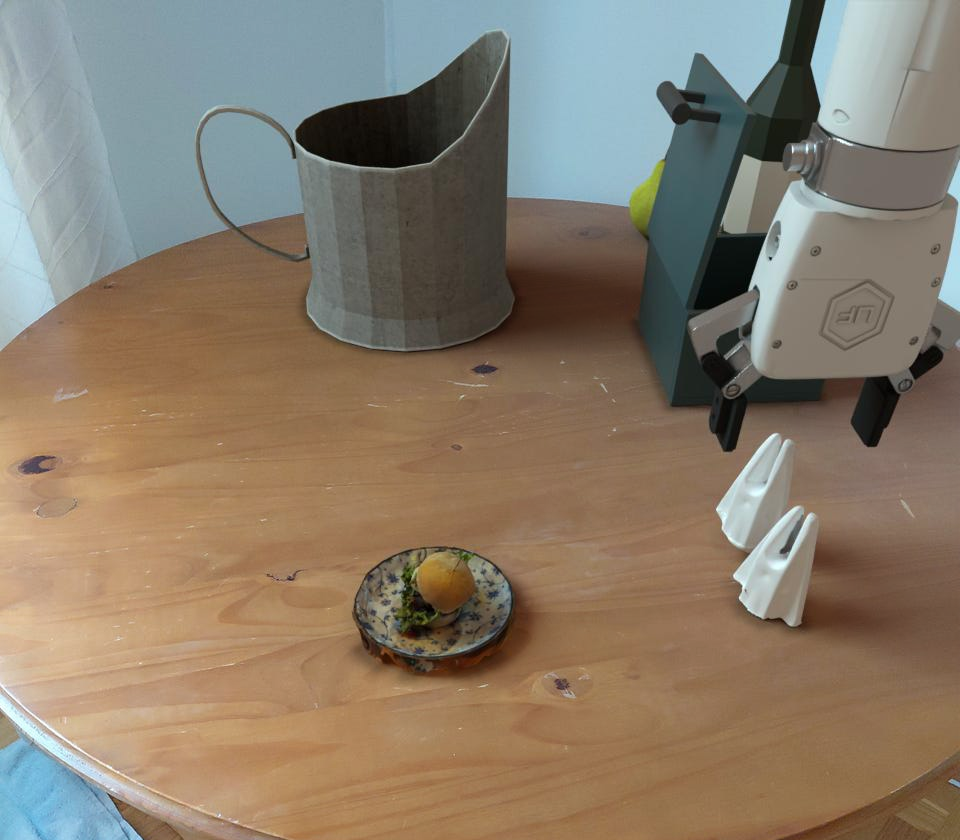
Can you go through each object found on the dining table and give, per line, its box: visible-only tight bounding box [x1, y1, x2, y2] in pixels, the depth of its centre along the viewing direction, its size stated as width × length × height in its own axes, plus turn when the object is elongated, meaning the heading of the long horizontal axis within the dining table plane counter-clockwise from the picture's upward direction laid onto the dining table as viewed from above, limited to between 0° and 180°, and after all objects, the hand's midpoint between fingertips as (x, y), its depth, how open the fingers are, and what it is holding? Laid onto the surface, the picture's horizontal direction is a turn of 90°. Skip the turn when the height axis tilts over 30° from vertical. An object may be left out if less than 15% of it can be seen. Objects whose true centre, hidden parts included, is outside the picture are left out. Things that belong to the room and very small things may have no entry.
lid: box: [647, 52, 757, 309], centre depth 78 cm, size 16×17×5 cm
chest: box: [637, 233, 827, 407], centre depth 88 cm, size 15×17×9 cm
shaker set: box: [715, 432, 820, 627], centre depth 65 cm, size 12×4×11 cm, turn 3°
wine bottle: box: [719, 0, 827, 234], centre depth 96 cm, size 8×8×30 cm
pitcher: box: [194, 28, 515, 352], centre depth 90 cm, size 23×32×25 cm
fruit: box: [628, 147, 669, 239], centre depth 107 cm, size 7×7×12 cm
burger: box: [351, 545, 516, 674], centre depth 63 cm, size 12×12×8 cm
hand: (793, 438), depth 60 cm, fingers open, 9 cm apart
